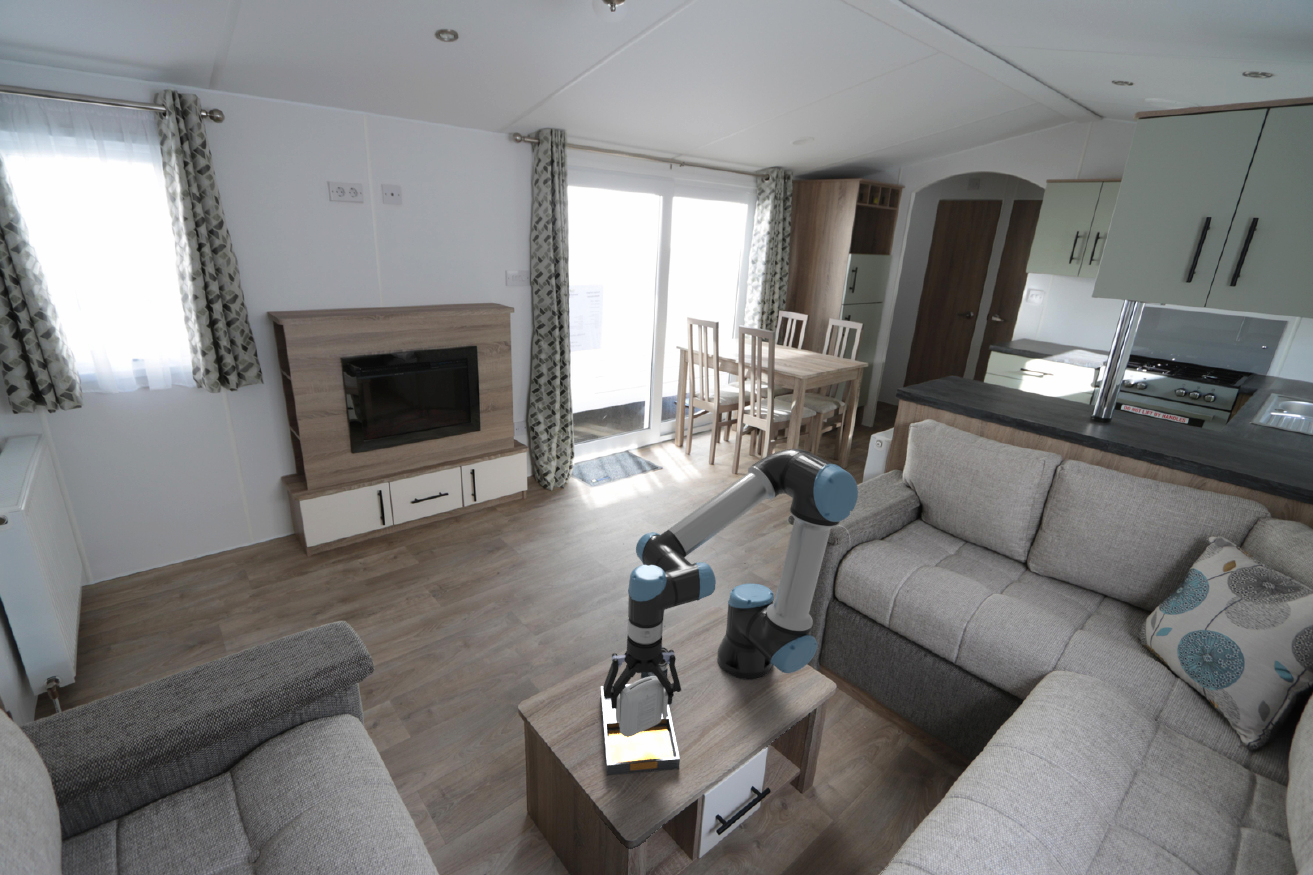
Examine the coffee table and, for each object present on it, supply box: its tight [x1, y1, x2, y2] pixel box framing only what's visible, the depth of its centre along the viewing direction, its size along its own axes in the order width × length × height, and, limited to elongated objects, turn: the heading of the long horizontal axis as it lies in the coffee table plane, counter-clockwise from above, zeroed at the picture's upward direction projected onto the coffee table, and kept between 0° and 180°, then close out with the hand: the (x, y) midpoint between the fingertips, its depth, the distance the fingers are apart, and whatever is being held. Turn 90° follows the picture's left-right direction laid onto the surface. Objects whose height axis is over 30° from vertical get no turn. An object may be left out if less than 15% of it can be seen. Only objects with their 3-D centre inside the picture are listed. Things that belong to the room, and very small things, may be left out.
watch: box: [640, 644, 669, 679], centre depth 162 cm, size 6×8×11 cm
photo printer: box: [619, 676, 664, 737], centre depth 137 cm, size 10×4×12 cm, turn 123°
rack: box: [600, 683, 681, 776], centre depth 146 cm, size 16×24×3 cm
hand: (640, 715), depth 138 cm, fingers closed on photo printer, 10 cm apart
